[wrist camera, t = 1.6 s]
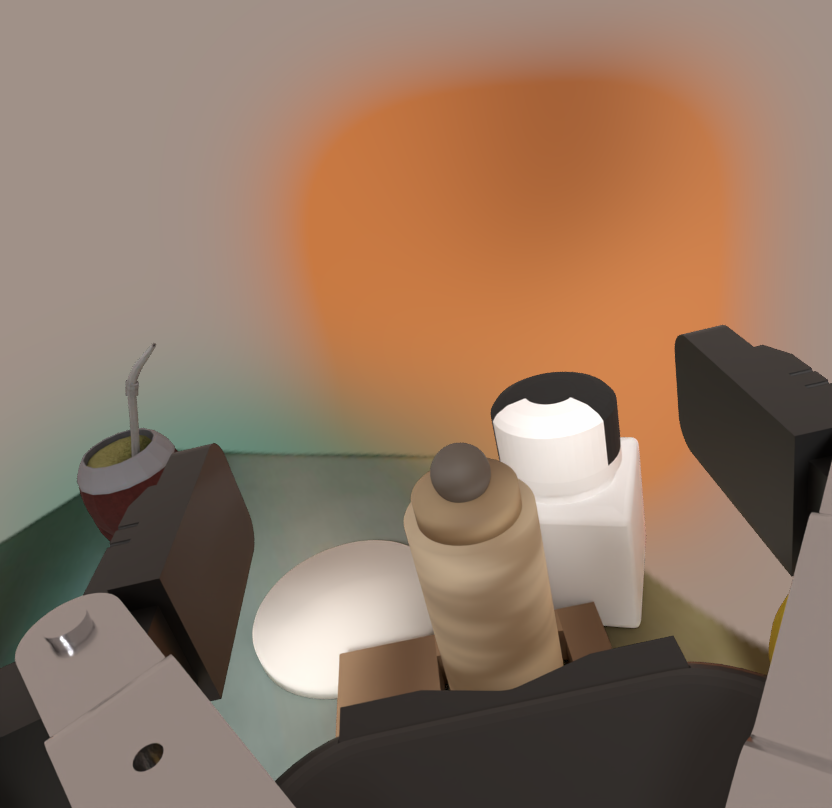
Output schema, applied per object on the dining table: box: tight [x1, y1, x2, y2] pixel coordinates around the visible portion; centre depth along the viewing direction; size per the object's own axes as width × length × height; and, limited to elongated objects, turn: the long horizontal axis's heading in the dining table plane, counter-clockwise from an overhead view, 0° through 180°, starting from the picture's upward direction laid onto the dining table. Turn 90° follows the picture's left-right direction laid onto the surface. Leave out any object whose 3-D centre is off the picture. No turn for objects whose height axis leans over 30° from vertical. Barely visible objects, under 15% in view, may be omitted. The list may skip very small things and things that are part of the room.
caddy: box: [336, 602, 612, 737], centre depth 32 cm, size 13×9×2 cm
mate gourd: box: [77, 343, 178, 542], centre depth 48 cm, size 8×8×15 cm
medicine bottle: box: [491, 372, 646, 628], centre depth 37 cm, size 7×7×12 cm
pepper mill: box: [404, 443, 564, 691], centre depth 29 cm, size 5×5×15 cm
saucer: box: [253, 540, 434, 699], centre depth 40 cm, size 11×11×1 cm
